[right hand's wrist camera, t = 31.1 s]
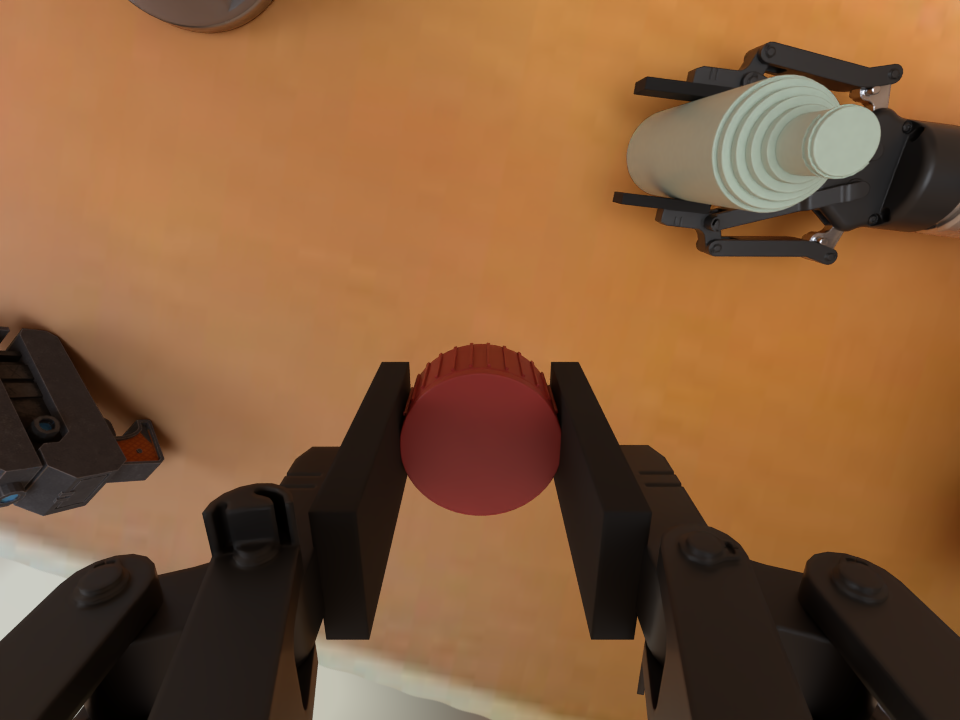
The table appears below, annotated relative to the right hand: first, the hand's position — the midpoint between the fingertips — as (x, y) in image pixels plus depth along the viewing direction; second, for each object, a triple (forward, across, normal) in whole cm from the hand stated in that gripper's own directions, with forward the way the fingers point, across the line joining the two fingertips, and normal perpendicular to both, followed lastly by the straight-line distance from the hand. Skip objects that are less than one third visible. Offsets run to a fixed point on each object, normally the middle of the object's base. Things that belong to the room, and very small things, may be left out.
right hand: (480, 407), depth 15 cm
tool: (+34, -39, -14) cm, 54 cm away
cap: (-2, 0, 0) cm, 2 cm away
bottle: (+34, +16, +7) cm, 38 cm away
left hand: (+27, +11, +8) cm, 30 cm away
